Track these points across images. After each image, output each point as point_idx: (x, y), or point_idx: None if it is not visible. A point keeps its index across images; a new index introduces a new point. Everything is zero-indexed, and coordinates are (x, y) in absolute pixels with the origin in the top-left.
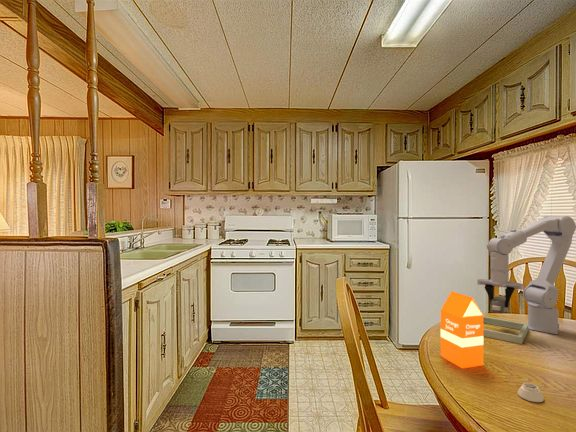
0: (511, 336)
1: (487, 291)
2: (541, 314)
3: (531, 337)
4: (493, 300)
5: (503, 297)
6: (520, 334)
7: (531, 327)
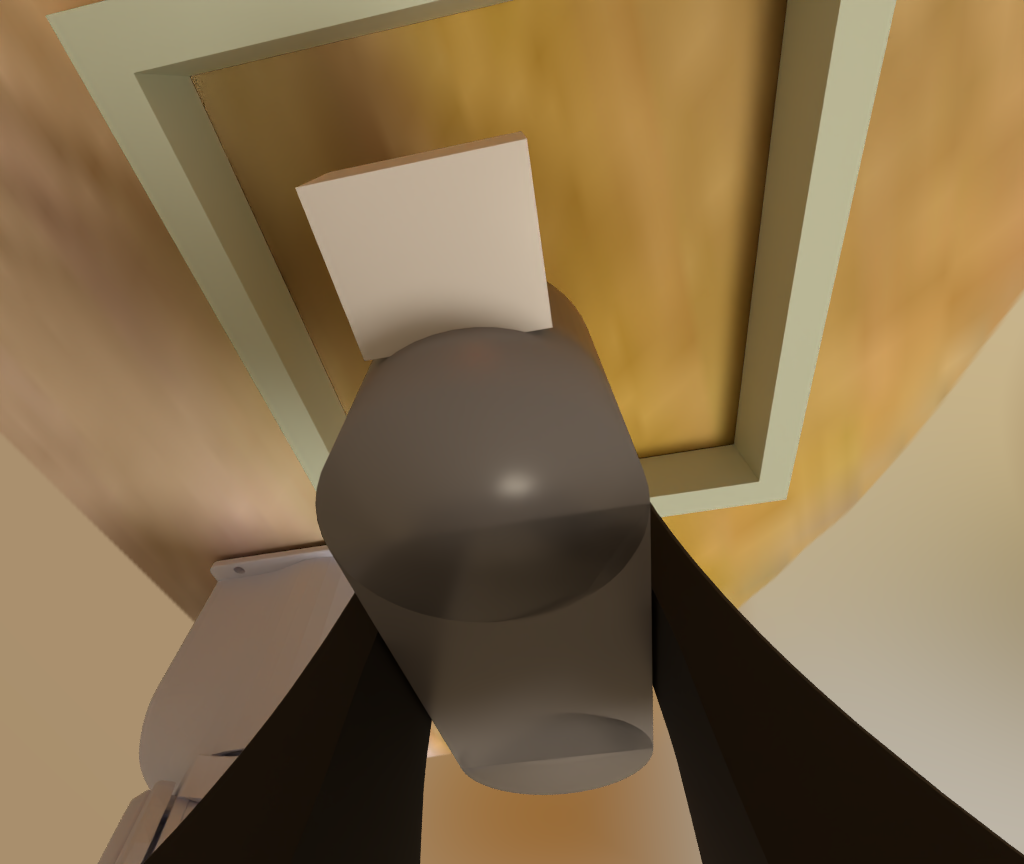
0: None
1: (921, 809)
2: (248, 683)
3: (250, 379)
4: (589, 486)
5: (524, 766)
6: (159, 161)
7: None
